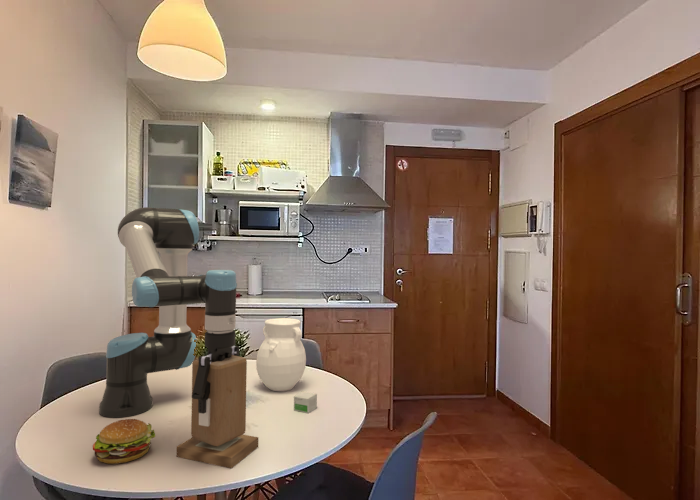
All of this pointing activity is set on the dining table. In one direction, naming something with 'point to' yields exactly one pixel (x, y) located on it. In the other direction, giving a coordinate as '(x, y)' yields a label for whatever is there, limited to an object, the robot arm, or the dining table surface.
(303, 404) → the small box
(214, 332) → the robot arm
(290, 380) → the pitcher
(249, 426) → the dining table surface
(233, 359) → the wooden block
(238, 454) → the board
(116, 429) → the food
